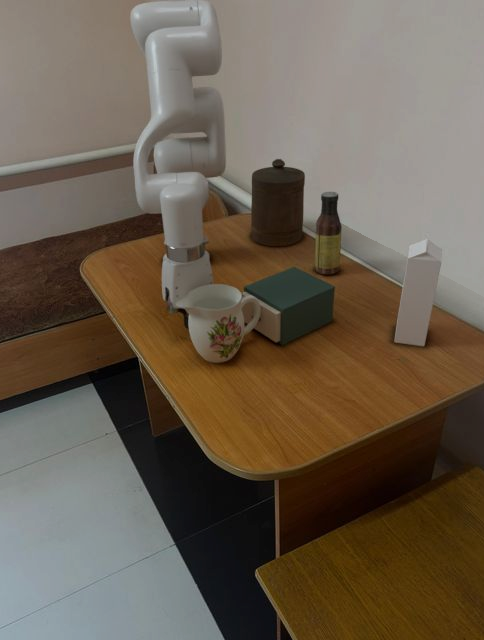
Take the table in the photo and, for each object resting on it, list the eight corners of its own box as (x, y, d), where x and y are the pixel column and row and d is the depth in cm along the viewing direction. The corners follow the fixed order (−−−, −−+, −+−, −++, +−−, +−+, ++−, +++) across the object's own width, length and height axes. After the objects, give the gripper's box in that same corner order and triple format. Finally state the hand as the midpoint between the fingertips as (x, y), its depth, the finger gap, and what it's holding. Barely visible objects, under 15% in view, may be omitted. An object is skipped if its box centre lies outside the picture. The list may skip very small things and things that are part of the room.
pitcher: (273, 351, 109) (274, 292, 101) (194, 380, 102) (188, 318, 94) (246, 327, 117) (245, 270, 109) (171, 351, 110) (164, 293, 102)
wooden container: (312, 233, 158) (316, 156, 145) (284, 251, 148) (285, 171, 136) (270, 223, 166) (270, 149, 153) (241, 239, 156) (239, 162, 144)
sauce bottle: (344, 271, 137) (351, 194, 126) (325, 278, 134) (331, 200, 123) (326, 262, 142) (331, 188, 130) (308, 269, 139) (312, 193, 127)
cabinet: (282, 345, 111) (283, 309, 106) (244, 320, 119) (243, 286, 114) (332, 321, 118) (335, 286, 113) (293, 299, 126) (294, 266, 121)
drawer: (271, 344, 109) (271, 316, 106) (237, 322, 117) (236, 294, 113) (322, 320, 117) (324, 292, 113) (287, 300, 124) (288, 274, 120)
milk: (393, 342, 110) (409, 242, 98) (395, 327, 115) (411, 229, 102) (425, 347, 108) (444, 245, 96) (425, 331, 113) (444, 232, 100)
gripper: (205, 233, 111) (210, 310, 121) (142, 254, 104) (153, 333, 114) (227, 245, 106) (230, 323, 116) (162, 267, 99) (172, 349, 109)
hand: (192, 328), depth 115 cm, fingers closed
